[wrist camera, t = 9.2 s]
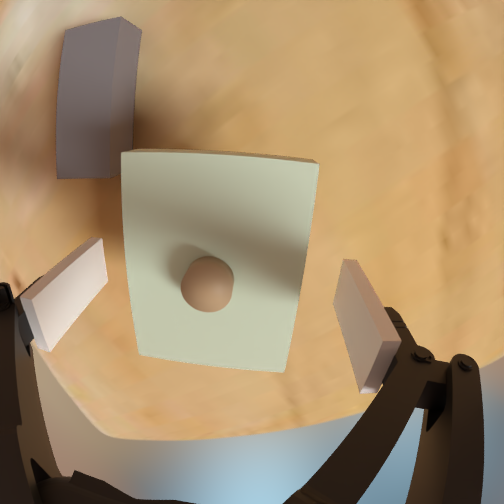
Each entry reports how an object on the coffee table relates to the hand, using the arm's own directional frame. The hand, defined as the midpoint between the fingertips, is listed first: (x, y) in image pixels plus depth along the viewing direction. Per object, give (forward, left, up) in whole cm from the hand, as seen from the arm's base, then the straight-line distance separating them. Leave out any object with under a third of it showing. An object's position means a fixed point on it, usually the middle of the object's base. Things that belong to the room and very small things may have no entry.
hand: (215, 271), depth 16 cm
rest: (-10, -11, -9) cm, 17 cm away
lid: (0, 0, -1) cm, 1 cm away
